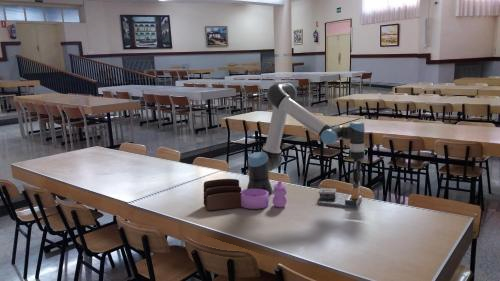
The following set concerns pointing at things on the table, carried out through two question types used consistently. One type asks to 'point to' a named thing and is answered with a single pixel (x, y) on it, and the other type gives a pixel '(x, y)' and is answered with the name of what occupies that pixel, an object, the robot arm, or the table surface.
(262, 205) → the container set
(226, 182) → the letter holder
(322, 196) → the electrical switch
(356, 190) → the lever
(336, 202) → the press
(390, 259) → the table surface
